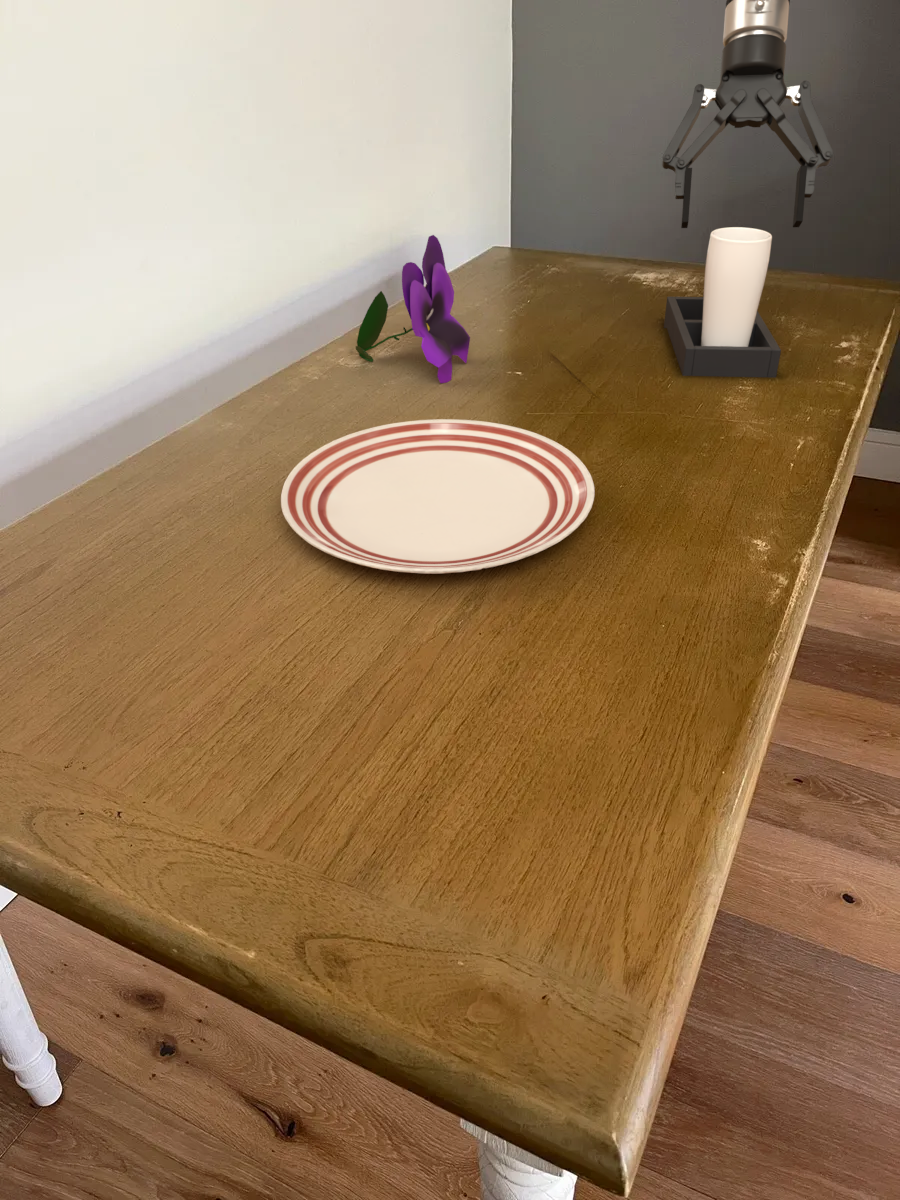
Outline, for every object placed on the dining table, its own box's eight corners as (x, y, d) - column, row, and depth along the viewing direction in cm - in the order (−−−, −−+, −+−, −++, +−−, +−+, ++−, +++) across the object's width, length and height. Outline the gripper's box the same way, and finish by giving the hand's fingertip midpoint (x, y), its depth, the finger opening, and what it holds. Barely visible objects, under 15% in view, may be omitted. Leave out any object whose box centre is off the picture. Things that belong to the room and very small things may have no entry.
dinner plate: (544, 627, 71) (546, 589, 69) (224, 563, 79) (218, 528, 77) (621, 471, 92) (624, 439, 91) (363, 433, 100) (361, 403, 99)
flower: (362, 425, 115) (456, 385, 108) (299, 309, 109) (393, 260, 102) (406, 382, 126) (493, 344, 119) (350, 276, 121) (438, 229, 114)
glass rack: (743, 332, 126) (749, 297, 124) (773, 389, 110) (781, 350, 107) (663, 331, 127) (667, 296, 124) (681, 387, 110) (686, 348, 108)
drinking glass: (687, 371, 112) (705, 238, 104) (697, 352, 118) (715, 224, 109) (746, 378, 110) (769, 243, 102) (754, 359, 115) (776, 229, 107)
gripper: (650, 35, 116) (639, 216, 118) (869, 25, 111) (852, 215, 113) (650, 62, 123) (639, 233, 125) (855, 54, 118) (839, 232, 121)
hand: (740, 225), depth 119 cm, fingers open, 13 cm apart
